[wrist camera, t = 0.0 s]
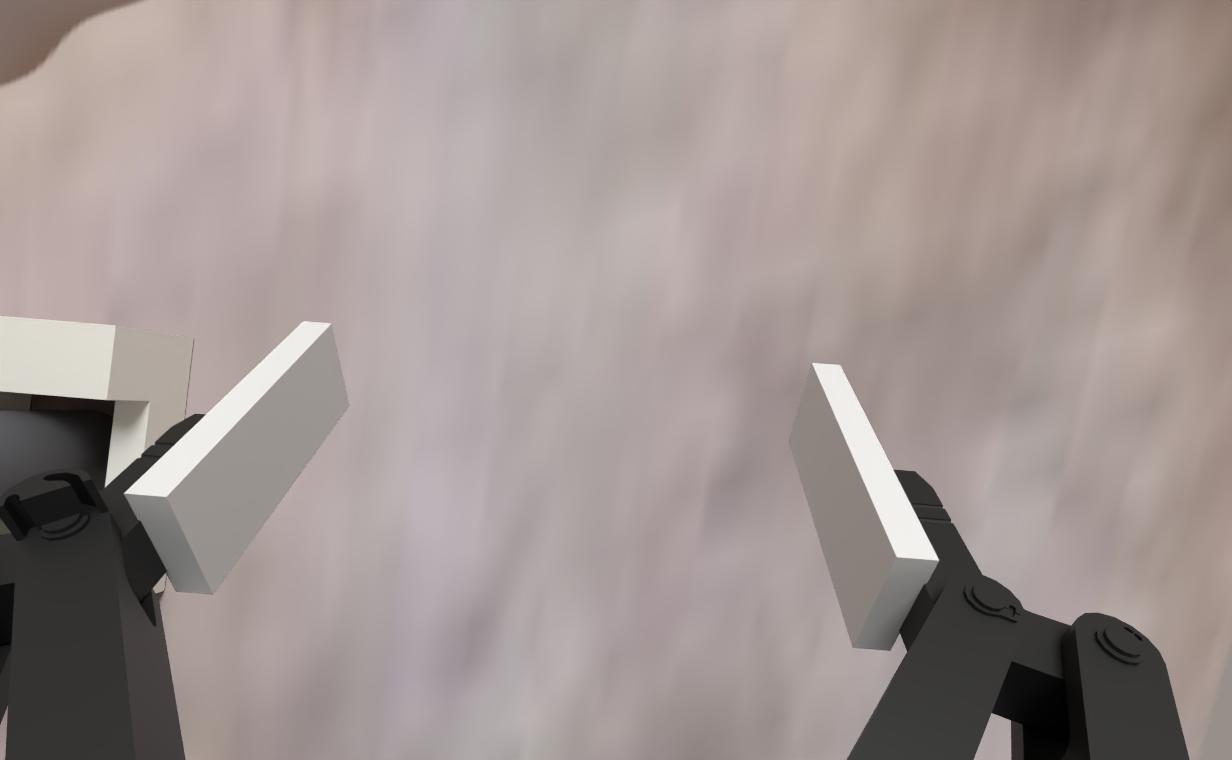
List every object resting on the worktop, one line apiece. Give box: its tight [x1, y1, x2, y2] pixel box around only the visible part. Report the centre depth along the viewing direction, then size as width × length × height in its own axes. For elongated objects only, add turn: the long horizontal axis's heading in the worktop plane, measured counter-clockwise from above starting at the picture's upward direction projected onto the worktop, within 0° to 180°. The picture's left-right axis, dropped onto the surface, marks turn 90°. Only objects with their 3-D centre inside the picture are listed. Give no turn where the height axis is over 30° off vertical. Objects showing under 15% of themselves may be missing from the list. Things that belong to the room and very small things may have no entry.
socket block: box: [0, 316, 194, 593], centre depth 29 cm, size 13×10×5 cm
